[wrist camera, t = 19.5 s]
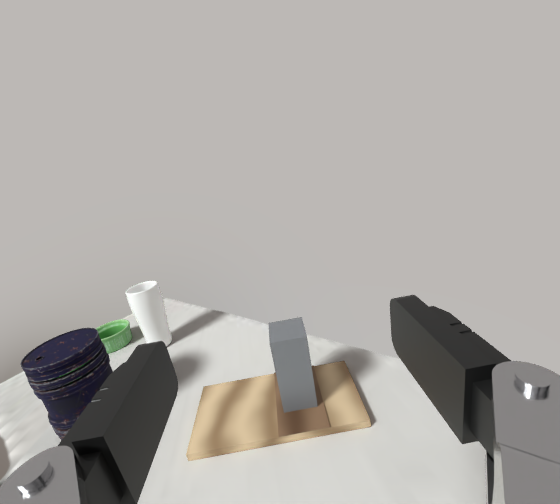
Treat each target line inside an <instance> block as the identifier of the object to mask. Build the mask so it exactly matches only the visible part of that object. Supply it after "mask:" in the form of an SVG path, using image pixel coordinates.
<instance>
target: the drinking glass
mask: <svg viewBox="0 0 560 504" xmlns="http://www.w3.org/2000/svg"><path fill="white" fill-rule="evenodd" d="M125 293H126V296H127V300H128V303H129V306H130V308H131V310H132V313H133V315H134V317H135V319H136V321H137V323H138V325H139V327H140V329H141V331H142V333H143V335H144V337H145V340H146V342H147V343H152V342H157V341H163V342H164V343H165V345H166V346H168V345H169V344H170V343H171V341H172V336H171V333H170V329H169V324H168V320H167V315H166V311H165V306H164V301H163V298H162V294H161V291H160V288H159V286H158V283H157V282H156V281H147V282H142V283H139V284H136V285H134V286H132V287H130V288H129V289H127V290H126V292H125Z"/></svg>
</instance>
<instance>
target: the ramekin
mask: <svg viewBox="0 0 560 504" xmlns="http://www.w3.org/2000/svg"><path fill="white" fill-rule="evenodd" d="M96 330H97V331H98V333H99V336H100V338H101V340H102V342H103V344H104V346H105V348H106V351H107V353H112V352H115V351H117V350H119V349H121V348H123V347H124V346H126V345H127V344H128V343H129V342H130V341H131V339H132V334H131V330H130V324H129V321H128V320H116V321H112V322H109V323H106V324H104V325H102V326H100V327H98V328H97V329H96Z"/></svg>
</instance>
